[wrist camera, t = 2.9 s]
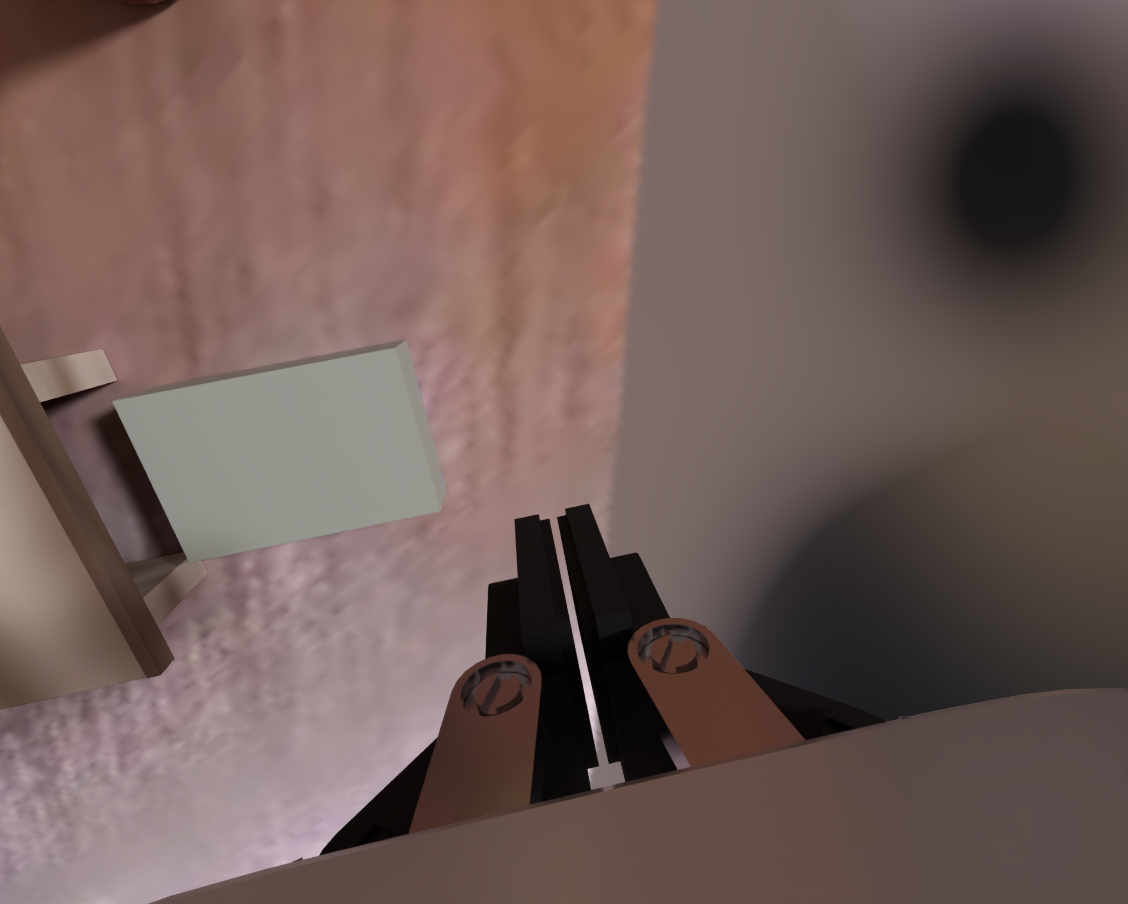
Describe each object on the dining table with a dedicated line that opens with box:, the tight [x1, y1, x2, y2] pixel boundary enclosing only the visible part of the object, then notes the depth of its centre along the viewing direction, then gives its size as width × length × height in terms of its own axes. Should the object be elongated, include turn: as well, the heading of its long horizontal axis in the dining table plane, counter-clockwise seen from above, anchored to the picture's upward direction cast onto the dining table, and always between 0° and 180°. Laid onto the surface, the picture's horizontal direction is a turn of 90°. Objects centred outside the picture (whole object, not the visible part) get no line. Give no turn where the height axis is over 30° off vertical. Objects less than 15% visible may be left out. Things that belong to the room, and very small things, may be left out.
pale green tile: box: [112, 340, 446, 563], centre depth 25 cm, size 8×12×3 cm, turn 100°
